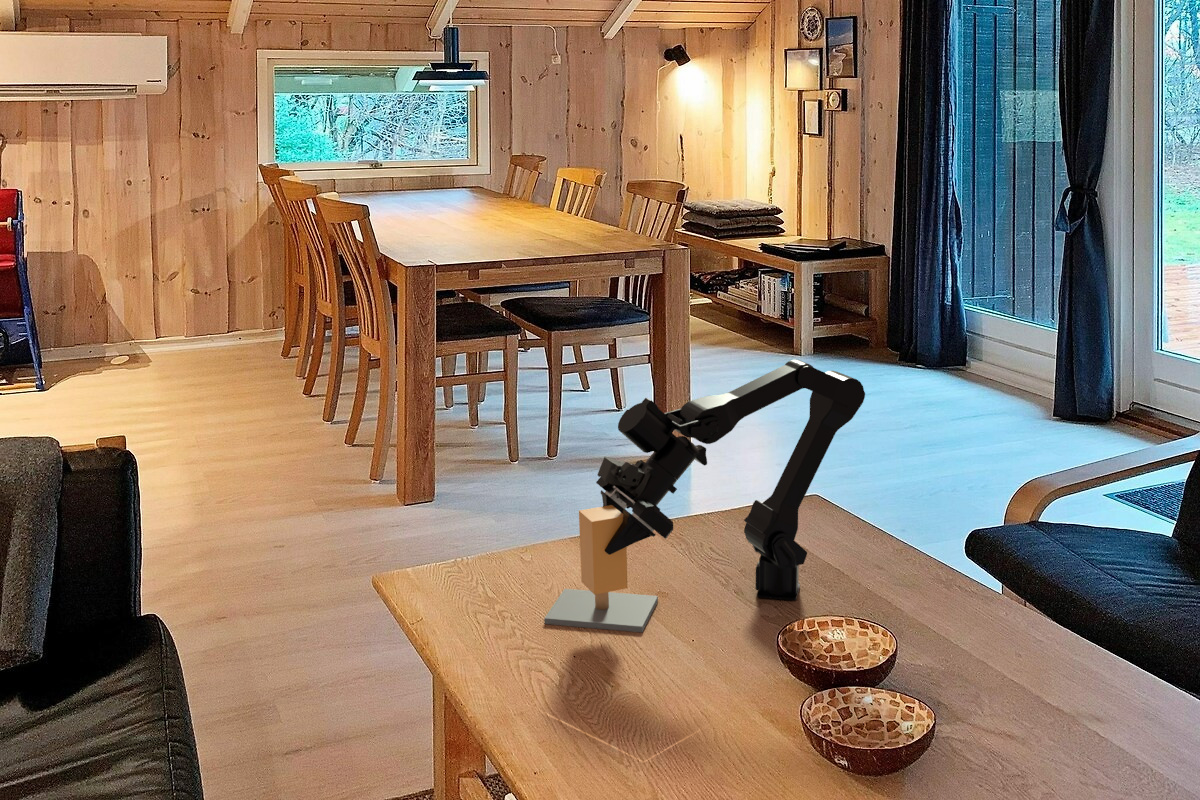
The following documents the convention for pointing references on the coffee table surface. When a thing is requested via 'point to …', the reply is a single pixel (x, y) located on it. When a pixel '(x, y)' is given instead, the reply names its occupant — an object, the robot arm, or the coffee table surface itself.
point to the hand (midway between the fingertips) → (599, 546)
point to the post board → (602, 610)
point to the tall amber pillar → (601, 550)
